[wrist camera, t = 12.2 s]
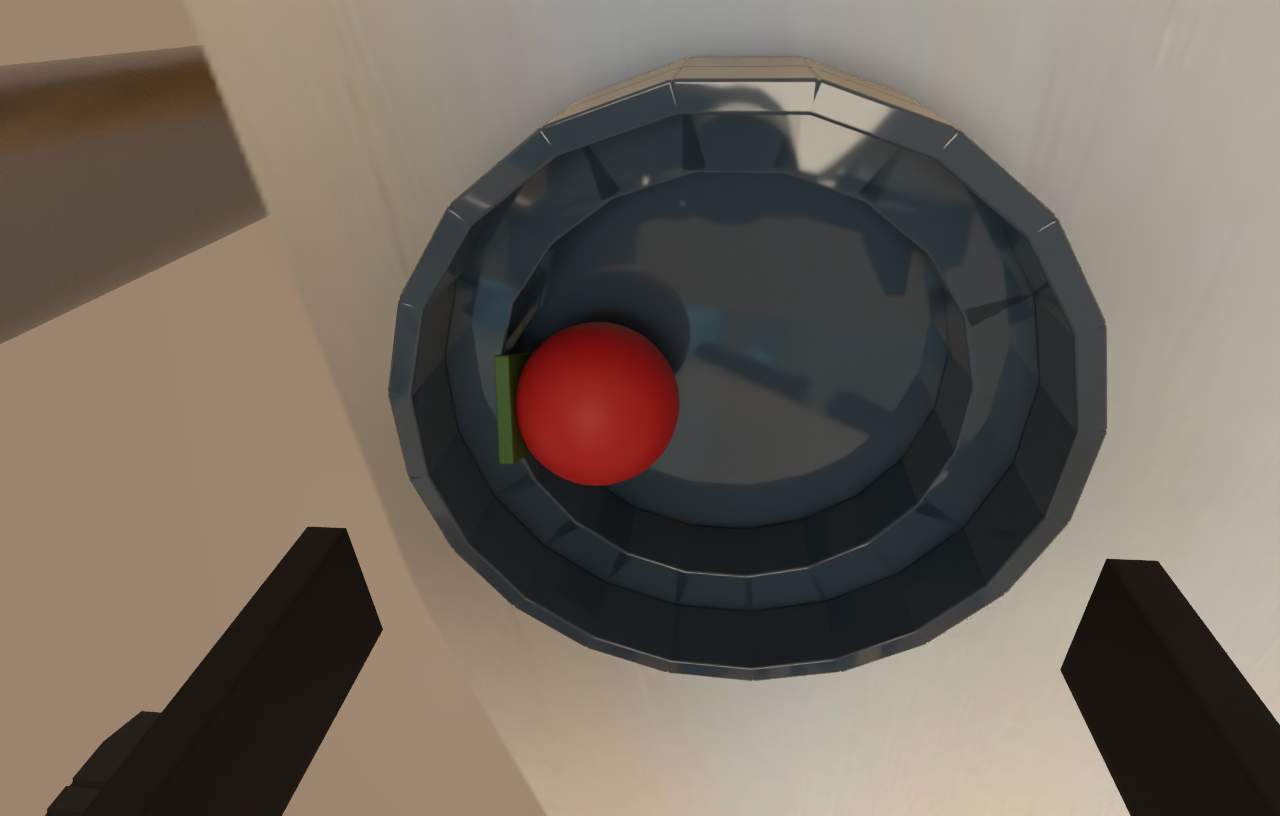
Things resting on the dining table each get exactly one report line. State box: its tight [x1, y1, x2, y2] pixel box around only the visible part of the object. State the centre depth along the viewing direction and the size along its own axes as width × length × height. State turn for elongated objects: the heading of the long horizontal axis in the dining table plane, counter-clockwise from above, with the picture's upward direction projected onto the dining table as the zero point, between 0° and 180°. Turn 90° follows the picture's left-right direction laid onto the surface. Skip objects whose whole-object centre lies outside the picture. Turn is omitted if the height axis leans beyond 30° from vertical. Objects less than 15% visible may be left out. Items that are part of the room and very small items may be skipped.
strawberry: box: [494, 322, 679, 486], centre depth 18 cm, size 4×4×5 cm
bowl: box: [388, 57, 1107, 681], centre depth 18 cm, size 16×16×5 cm
